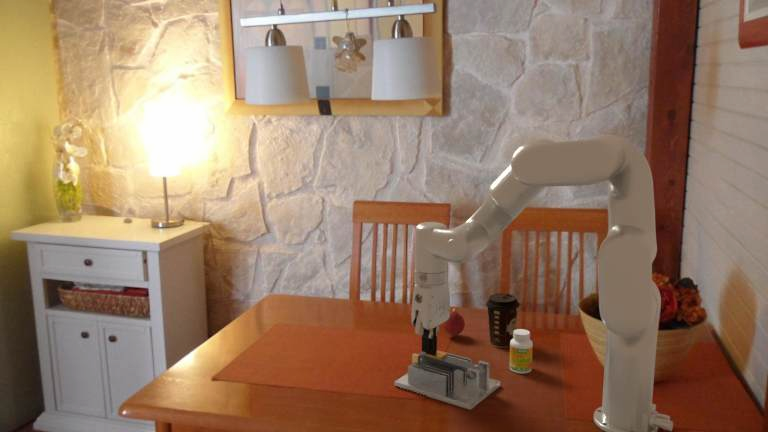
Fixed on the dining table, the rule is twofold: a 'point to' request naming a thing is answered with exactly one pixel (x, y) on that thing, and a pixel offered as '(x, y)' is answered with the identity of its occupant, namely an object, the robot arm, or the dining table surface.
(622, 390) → the robot arm
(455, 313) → the onion
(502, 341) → the coffee cup
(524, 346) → the supplement bottle
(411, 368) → the heatsink base
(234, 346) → the dining table surface
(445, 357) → the strap
